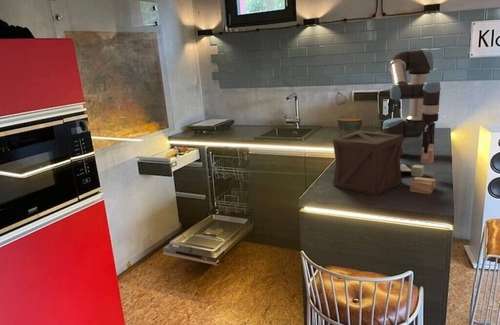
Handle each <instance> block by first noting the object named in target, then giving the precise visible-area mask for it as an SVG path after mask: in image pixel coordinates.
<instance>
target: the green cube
mask: <svg viewBox="0 0 500 325" xmlns="http://www.w3.org/2000/svg"><path fill="white" fill-rule="evenodd" d="M411 168H412V172H410V173H411V174H410V176H411V177H422V178H423V176H424V175H425V174H424V173H425V165H421V164H420V165H419V164H414V165H412V166H411Z"/></svg>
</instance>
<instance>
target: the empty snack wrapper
mask: <svg viewBox="0 0 500 325" xmlns="http://www.w3.org/2000/svg"><path fill="white" fill-rule="evenodd" d="M400 169H401V173H402V172H405V173H411V172H412V166H411V165H410V164H407V163H403V164H400Z"/></svg>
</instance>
